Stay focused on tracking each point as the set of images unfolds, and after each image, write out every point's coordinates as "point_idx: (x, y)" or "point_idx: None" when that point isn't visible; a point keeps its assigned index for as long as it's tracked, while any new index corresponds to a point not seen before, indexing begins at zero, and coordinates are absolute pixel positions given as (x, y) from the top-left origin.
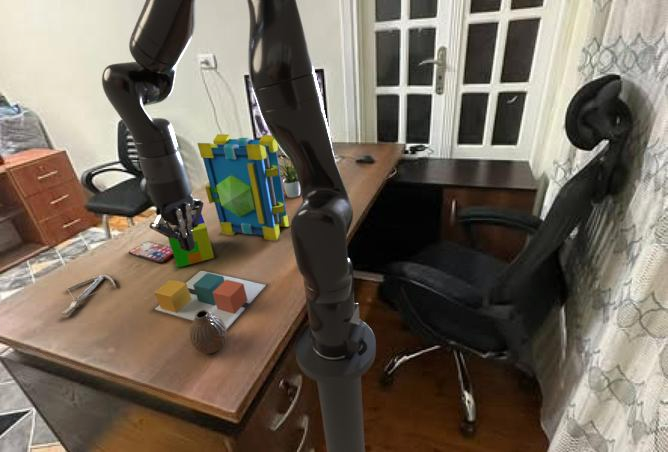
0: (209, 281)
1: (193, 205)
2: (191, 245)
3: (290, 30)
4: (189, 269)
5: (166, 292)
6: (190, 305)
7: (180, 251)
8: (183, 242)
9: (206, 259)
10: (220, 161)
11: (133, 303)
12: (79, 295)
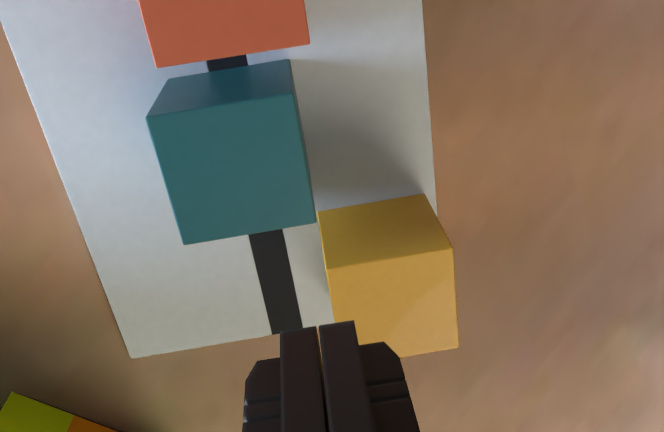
0: (238, 158)
1: None
2: (319, 358)
3: None
4: (159, 411)
5: (434, 295)
6: (352, 180)
7: None
8: (413, 427)
9: (50, 409)
10: None
11: (450, 406)
12: None
